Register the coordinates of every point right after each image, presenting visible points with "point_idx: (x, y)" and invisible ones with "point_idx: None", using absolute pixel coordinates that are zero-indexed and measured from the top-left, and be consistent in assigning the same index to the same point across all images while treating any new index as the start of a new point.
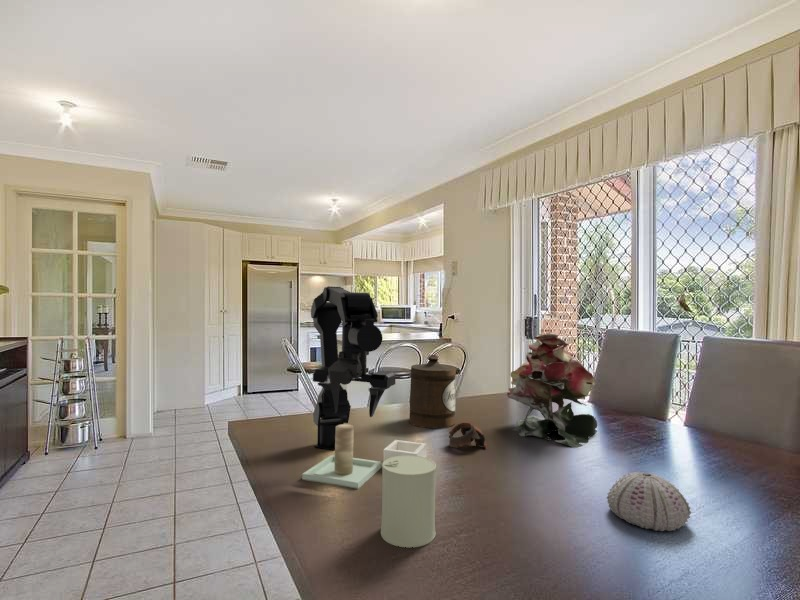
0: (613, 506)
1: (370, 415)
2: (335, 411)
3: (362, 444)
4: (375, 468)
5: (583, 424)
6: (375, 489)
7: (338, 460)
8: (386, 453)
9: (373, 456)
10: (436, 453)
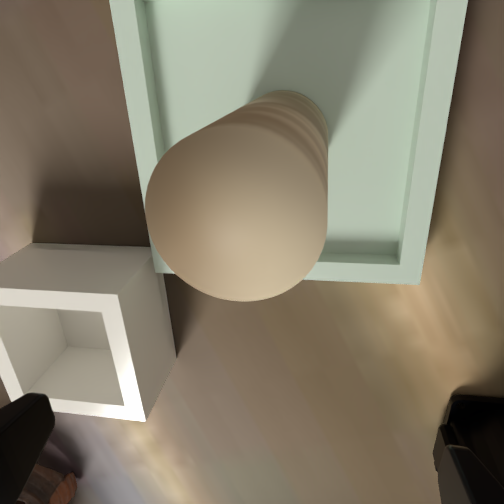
0: None
1: (23, 399)
2: (447, 460)
3: (364, 466)
4: (144, 199)
5: None
6: (85, 56)
7: (281, 97)
8: (109, 284)
9: (268, 373)
10: (91, 437)
